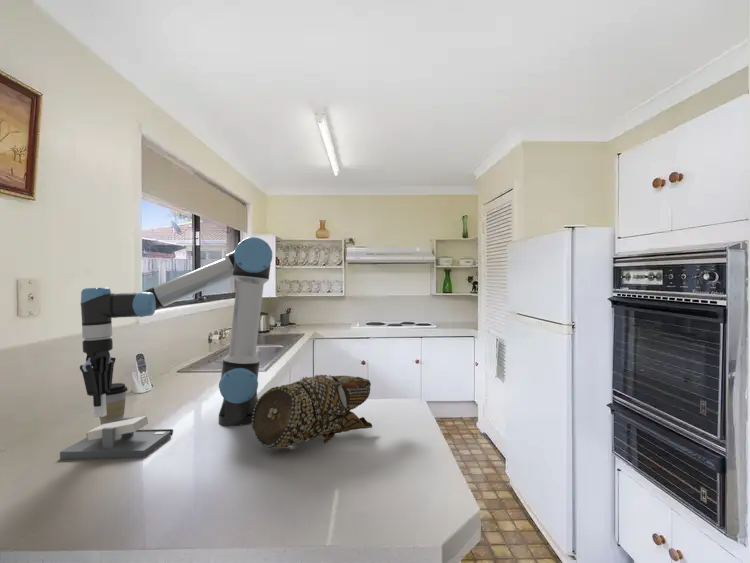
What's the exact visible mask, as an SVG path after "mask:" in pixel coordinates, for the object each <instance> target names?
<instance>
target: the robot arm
mask: <svg viewBox="0 0 750 563" xmlns="http://www.w3.org/2000/svg"><path fill="white" fill-rule="evenodd" d="M272 260H273V251H272V248H271V246H270V245H269V243H268V242H267V241H266V240H264V239H262V238H259V237H255V236H251V237H245V238H244V239H242V240H241V241H239V243H237V245H236V246H235V248H234V251H232V252H229V253H227V254H225V256H224V258H222V259H219V260H216V261H214V262H212V263H210V264H207V265H205V266H202V267H200V268H197V269H195V270H193V271H190V272H188V273H185V274H183V275H181V276H177V277H175V278H173V279H171V280H168V281H164V282H163V283H160V284H159V285H155V286H153V287H151V288H147V289H145V290H143V291H139V292H122V293H121V292H120V293H112V291H111V288H109V287H86V288H83V289H82V290H81V292H80V303H79V304H80V310H81V311H80V313H81V328H82V329H81V330H82V331H81V332H82V333H81V334H82V339H84V340H82V353H85V354H86V358H85V363H84V364H81V365H80V366H79V370H80V371H81V373H82V377H83V381H84V386H85V390H86V391H85V392H86V395H87V396H90V397H93V398H92V399H93V400H92V401H93V412H94V415H93V416H94V418H97V417H98V418H99V417H104V416H106V415H107V411H106V393H109V392H110V390H109V389H111V386H112V384H113V374H114V366H115V362H116V357H113V356H112V357H111V353H110V351H112V350H113V348H114V347H113V346H114V344H113V338H112V336H113V326H112V324H113V322H112V321H113V320H112V319H116V318H137V317H139V318H142V317H151V316H153V315H154V314H155V312H156V311H157V310H159V309H162V308H164V307H166V306H169V305H170V304H173V303H174V304H175V302H178V301H180V300H183V299H185V298H188V297H190V296H192V295H195V294H197V293H200V292H202V291H205V290H207V289H210V288H212V287H214V286H216V285H217V286H218V285H219V284H221V283H224V282H226V281H228V280H231V279H234V280H235V281H236V288H235V294H234V295H235V297H234V303H233V313H232V321H231V330H230V340H229V350H228V354H226V356H225V357H223V359H222V365H221V366H222V367H221V374H220V380H219V383H218V389H219V393H220V395H221V397H222V398H223V401H222V403H221V407H220V408H219V412H218V423H219V424H220V425H223V426H226V427H227V426H231V427H235V426H236V427H237V426H245V425H252V419H253V417H252V416H253V412H254V411H253V409H254V408H255V405H256V403H257V402H258V400H259V398H258V388H259V381H258V379H259V369H260V359H259V358H258V357H257V347H258V336H259V330H260V329H259V328H260V320H261V319H260V318H261V310H262V302H263V292H264V285H265V284H266V283H267V282H269V280H270V274H271V273H270V271H271V263H272ZM108 390H109V391H108Z"/></svg>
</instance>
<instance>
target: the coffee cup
mask: <svg viewBox="0 0 750 563" xmlns="http://www.w3.org/2000/svg"><path fill="white" fill-rule="evenodd" d="M109 390H110V392H109V393H106V411H107V415H106V416H104V417H98V418H99V421H100V425H102V424H107V423H112V422H117V421H122V418H124V417H125V410H126V399H127V398H126V393H127V392H128V391H129V390H128V387H127V386H126V384H125V383H123V382H117V383H116V382H115V383H112V386H111V389H109ZM109 390H108V391H109Z"/></svg>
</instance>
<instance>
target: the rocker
mask: <svg viewBox="0 0 750 563" xmlns="http://www.w3.org/2000/svg"><path fill="white" fill-rule="evenodd" d="M148 424H149V419H148V416H147V415H143V416H139V417H138V416H137V417H134V418H133V419H128V420H122V421H117V422H112V423H107V424H102V425H101V424H100V425H99V426H96V427H95V428H93V429H91V430H89V431H87V432H86V433H85V435H86V438H87V440H93V439H99V438H102V429H103V428H110V427H115V435H120V434H125V433H130V432H135V431H137V430H141V429H143V428H144V427H145V426H147V425H148Z"/></svg>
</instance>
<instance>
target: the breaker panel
mask: <svg viewBox="0 0 750 563" xmlns="http://www.w3.org/2000/svg"><path fill="white" fill-rule="evenodd" d="M133 418H135V417H134V416H123V418H122V420H128V419H133ZM171 436H172V435H171V431H163V432H130V433H125V434H120V435H115V427H110V428H103V429H102V438H99V439H93V440H87V437H85V438H83V439H81V440H79V441H77V442H76V443H74V444H72V445H70V446H69V447H67V448H65V449H63V450H61V451H60V452H59V459H60V460H69V459H70V460H71V459H73V460H75V459H77V460H78V459H80V460H81V459H128V458H129V459H130V458H132V459H133V458H138V459H139V458H142V459H143V458H146V457H147V456H149V455H150V454H151V453H153V452H154V451H155V450H156V449H158V448H159V447H161V446H162V445H163V444H164V443H166V442H167V441H168V440H169V439H171Z"/></svg>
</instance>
